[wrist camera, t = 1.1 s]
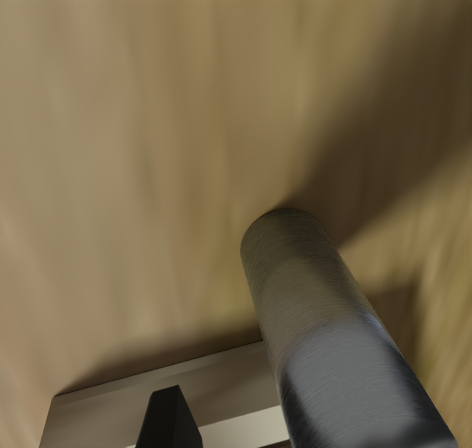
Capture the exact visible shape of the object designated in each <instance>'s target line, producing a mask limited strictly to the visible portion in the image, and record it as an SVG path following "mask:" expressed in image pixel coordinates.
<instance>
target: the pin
mask: <svg viewBox="0 0 472 448" xmlns="http://www.w3.org/2000/svg"><path fill="white" fill-rule="evenodd" d="M240 254H241V259H242V263H243V267H244V270H245V274H246V278H247V282H248V285H249V289H250V293H251V297H252V300H253V304H254V308H255V311H256V315H257V319H258V323H259V326H260V330H261V334H262V338H263V341H264V345H265V349H266V353H267V356H268V360H269V364H270V368H271V371H272V375H273V379H274V383H275V386H276V390H277V394H278V398H279V401H280V405H281V409H282V413H283V416H284V420H285V424H286V427H287V431H288V435H289V439H290V442H291V446H292V448H458V444H457V441H456V439H455V438H454V436H453V434H452V433H451V431H450V430H449V428H448V426H447V425H446V423H445V422H444V420H443V418H442V417H441V415H440V414H439V412H438V410H437V409H436V407H435V406H434V404H433V402H432V401H431V399H430V398H429V396H428V395H427V393H426V391H425V390H424V388H423V387H422V385H421V383H420V382H419V380H418V379H417V377H416V375H415V374H414V372H413V371H412V369H411V367H410V366H409V364H408V363H407V361H406V359H405V358H404V356H403V355H402V353H401V351H400V350H399V348H398V347H397V345H396V343H395V342H394V340H393V339H392V337H391V335H390V334H389V332H388V331H387V329H386V328H385V326H384V324H383V323H382V321H381V320H380V318H379V316H378V315H377V313H376V312H375V310H374V308H373V307H372V305H371V304H370V302H369V300H368V299H367V297H366V296H365V294H364V292H363V291H362V289H361V288H360V286H359V284H358V283H357V281H356V280H355V278H354V276H353V275H352V273H351V272H350V270H349V268H348V267H347V265H346V264H345V262H344V261H343V259H342V257H341V256H340V254H339V253H338V251H337V249H336V248H335V246H334V245H333V243H332V241H331V240H330V238H329V237H328V235H327V233H326V232H325V230H324V229H323V227H322V225H321V224H320V222H319V221H318V220H317V219H316V218H315V217H314V216H312V215H311V214H309V213H307V212H305V211H302V210H298V209H280V210H275V211H272V212H269V213H267V214H265V215H263V216H262V217H260V218H259V219H257V220H256V221H255V222H254V223H253V224H252V225H251V226H250V227H249V228H248V230H247V231H246V233H245V234H244V237H243V239H242V242H241V248H240Z"/></svg>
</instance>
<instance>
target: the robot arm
mask: <svg viewBox="0 0 472 448" xmlns="http://www.w3.org/2000/svg"><path fill="white" fill-rule="evenodd" d="M135 448H203V441H202V436H201V434H200V432H199V430H198V427H197V425H196V423H195V420H194V418H193V416H192V414H191V411H190V409H189V407H188V405H187V402H186V400H185V398H184V395H183V393H182V391H181V389H180V386H179V385H175V386H172V387H168V388H164V389H161V390H157V391H154V392H153V393H152V394H151V396H150V398H149V402H148V406H147V410H146V413H145V417H144V420H143V424H142V427H141V430H140V433H139V437H138V440H137V443H136V446H135Z"/></svg>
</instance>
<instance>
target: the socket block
mask: <svg viewBox="0 0 472 448" xmlns="http://www.w3.org/2000/svg"><path fill="white" fill-rule="evenodd" d="M175 385H179V386H180V389H181V391H182V393H183V395H184V398H185V400H186V402H187V405H188V407H189V409H190V411H191V414H192V416H193V418H194V420H195V423H196V425H197V427H198V430H199V432H200V434H201V436H202V441H203V448H292V446H291V442H290V439H289V435H288V431H287V427H286V424H285V420H284V416H283V413H282V409H281V405H280V401H279V398H278V394H277V390H276V386H275V383H274V379H273V375H272V371H271V368H270V364H269V360H268V356H267V353H266V349H265V345H264V341H260V342H256V343H252V344H248V345H245V346H241V347H237V348H234V349H230V350H226V351H223V352H219V353H215V354H212V355H208V356H204V357H201V358H197V359H193V360H190V361H186V362H182V363H178V364H175V365H171V366H167V367H164V368H160V369H156V370H153V371H149V372H145V373H142V374H138V375H134V376H131V377H127V378H123V379H120V380H116V381H112V382H108V383H105V384H101V385H97V386H94V387H90V388H86V389H83V390H79V391H75V392H72V393H68V394H64V395H61V396H57V397H53V398H52V401H51V405H50V409H49V412H48V416H47V420H46V423H45V427H44V431H43V434H42V438H41V442H40V445H39V448H135V446H136V443H137V440H138V437H139V433H140V430H141V427H142V424H143V420H144V417H145V413H146V410H147V406H148V402H149V398H150V396H151V394H152V393H153V392H154V391H157V390H161V389H164V388H168V387H172V386H175Z"/></svg>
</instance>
